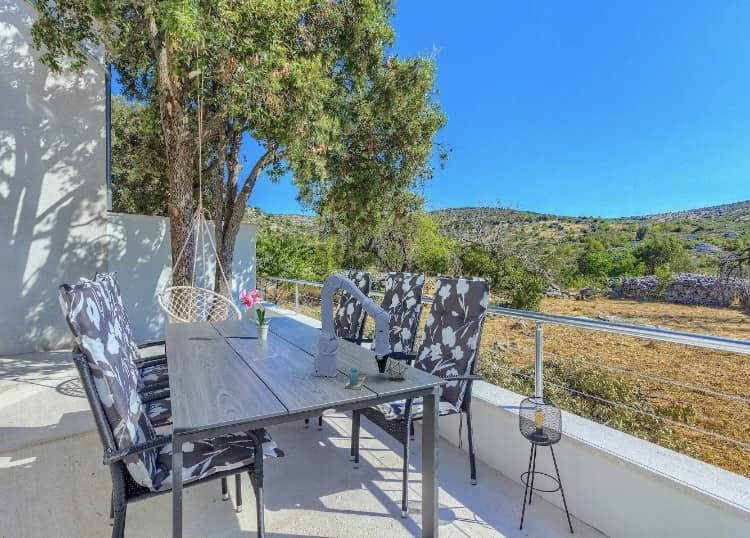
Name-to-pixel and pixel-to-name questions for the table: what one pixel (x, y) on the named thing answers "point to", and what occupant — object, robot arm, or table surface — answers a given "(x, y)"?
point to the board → (360, 382)
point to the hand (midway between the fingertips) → (382, 372)
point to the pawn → (353, 376)
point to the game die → (396, 369)
